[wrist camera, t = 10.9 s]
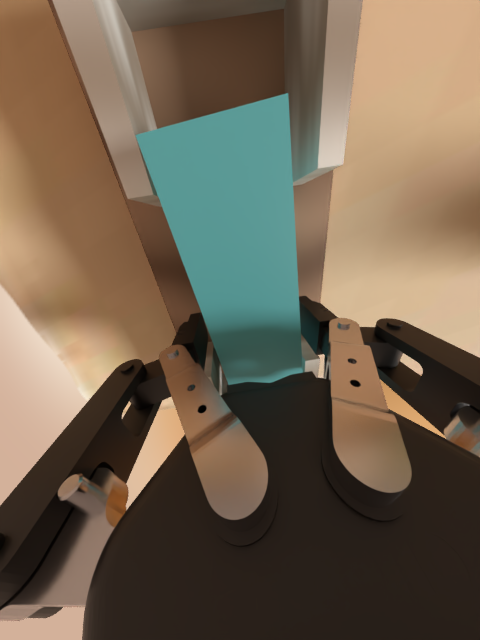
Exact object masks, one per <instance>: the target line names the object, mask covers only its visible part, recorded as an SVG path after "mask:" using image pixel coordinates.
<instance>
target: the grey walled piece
mask: <svg viewBox="0 0 480 640" xmlns="http://www.w3.org/2000/svg"><path fill="white" fill-rule="evenodd" d="M48 2H49V4H50V7H51V10H52V12H53V15H54V17H55V20H56V23H57V25H58V28H59V30H60V33H61V36H62V38H63V41H64V43H65V46H66V48H67V51H68V54H69V56H70V59H71V61H72V64H73V67H74V69H75V72H76V74H77V77H78V79H79V82H80V85H81V87H82V90H83V92H84V95H85V98H86V100H87V103H88V105H89V108H90V111H91V113H92V116H93V118H94V121H95V123H96V126H97V129H98V131H99V134H100V136H101V139H102V142H103V144H104V147H105V149H106V152H107V154H108V157H109V160H110V162H111V165H112V167H113V170H114V173H115V175H116V178H117V180H118V183H119V186H120V188H121V191H122V193H123V196H124V198H125V201H126V204H127V206H128V209H129V211H130V214H131V217H132V219H133V222H134V224H135V227H136V230H137V232H138V235H139V237H140V240H141V242H142V245H143V248H144V250H145V253H146V255H147V258H148V261H149V263H150V266H151V268H152V271H153V273H154V276H155V279H156V281H157V284H158V286H159V289H160V292H161V294H162V297H163V299H164V302H165V305H166V307H167V310H168V312H169V315H170V317H171V320H172V323H173V325H174V328H175V330H176V333H177V332H178V329H179V327H180V326H181V325H182V324H183V323H184V322H187V321H188V320H189V317H190V314H194V313H200V312H201V310H200V307H199V304H198V302H197V299H196V296H195V294H194V291H193V288H192V286H191V283H190V280H189V278H188V275H187V272H186V270H185V267H184V264H183V262H182V259H181V256H180V253H179V251H178V248H177V245H176V243H175V240H174V237H173V235H172V232H171V229H170V227H169V224H168V221H167V219H166V216H165V213H164V211H163V208H162V205H161V203H160V200H159V197H158V195H157V192H156V189H155V187H154V184H153V181H152V179H151V176H150V173H149V170H148V168H147V165H146V162H145V160H144V157H143V154H142V152H141V149H140V146H139V144H138V141H137V138H136V136H135V135H137V134H141V133H144V132H148V131H152V130H155V129H159V128H163V127H166V126H170V125H174V124H177V123H181V122H184V121H188V120H192V119H195V118H199V117H203V116H206V115H210V114H214V113H217V112H221V111H224V110H228V109H232V108H235V107H239V106H243V105H246V104H250V103H254V102H257V101H261V100H265V99H268V98H272V97H275V96H279V95H283V94H286V93H288V98H289V117H290V136H291V155H292V175H293V194H294V213H295V232H296V251H297V270H298V289H299V296H307V297H308V298H309V299H310V300H311V301H316V302H318V303H320V299H321V289H322V279H323V269H324V259H325V249H326V239H327V229H328V218H329V208H330V198H331V188H332V178H333V169H335V168H337V167H339V166H341V165H343V162H344V153H345V145H346V136H347V128H348V120H349V111H350V103H351V94H352V86H353V78H354V69H355V61H356V52H357V44H358V36H359V27H360V19H361V10H362V2H363V0H48ZM201 313H202V312H201ZM204 321H205V320H204ZM205 325H206V323H205ZM206 328H207V326H206ZM207 332H208V345H207V353H206V361H205V369H204V372H205V374H206V375H207V376H208V378H209V379H210V381H211V382H212V384H213V385H214V387H215V388H216V390H217V391H218V393H219V394H220V395H222V394H224V393H226V392H227V385H228V382H227V379H226V377H225V374H224V371H223V369H222V366H221V363H220V361H219V358H218V355H217V353H216V350H215V347H214V345H213V342H212V339H211V336H210V334H209V331H208V328H207ZM301 347H302V366H303V372H309V371H312V372H313V373H314V375H315V377H316V378H318V372H319V363H320V358H319V356H318V355H316V354H315V353H314V351H313V350H312V348H311V347H310V346H309V344H308V343H307V341H306V340H305V338H304V337H303V336H302V334H301Z"/></svg>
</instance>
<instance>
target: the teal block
mask: <svg viewBox="0 0 480 640" xmlns="http://www.w3.org/2000/svg"><path fill="white" fill-rule="evenodd" d="M135 136H136V138H137V141H138V144H139V146H140V149H141V152H142V154H143V157H144V160H145V162H146V165H147V168H148V170H149V173H150V176H151V179H152V181H153V184H154V187H155V189H156V192H157V195H158V197H159V200H160V203H161V205H162V208H163V211H164V213H165V216H166V219H167V221H168V224H169V227H170V229H171V232H172V235H173V237H174V240H175V243H176V245H177V248H178V251H179V253H180V256H181V259H182V262H183V264H184V267H185V270H186V272H187V275H188V278H189V280H190V283H191V286H192V288H193V291H194V294H195V296H196V299H197V302H198V304H199V307H200V310H201V312H202V315H203V318H204V320H205V323H206V326H207V328H208V331H209V334H210V336H211V339H212V342H213V345H214V347H215V350H216V353H217V355H218V358H219V361H220V363H221V366H222V369H223V371H224V374H225V377H226V379H227V382H228V385H231V384H237V383H243V382H264V383H271V382H274V381H277V380H279V379H282V378H284V377H286V376H289V375H291V374H297V373H303V366H302V347H301V328H300V308H299V289H298V270H297V251H296V232H295V213H294V194H293V175H292V155H291V136H290V117H289V98H288V93H286V94H283V95H279V96H275V97H272V98H268V99H265V100H261V101H257V102H254V103H250V104H246V105H243V106H239V107H235V108H232V109H228V110H224V111H221V112H217V113H214V114H210V115H206V116H203V117H199V118H195V119H192V120H188V121H184V122H181V123H177V124H174V125H170V126H166V127H163V128H159V129H155V130H152V131H148V132H144V133H141V134H137V135H135Z"/></svg>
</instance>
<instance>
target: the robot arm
mask: <svg viewBox="0 0 480 640" xmlns="http://www.w3.org/2000/svg"><path fill="white" fill-rule="evenodd" d="M299 308H300V328H301V334H302V336H303V337H304V338H305V340H306V341H307V343H308V344H309V346H310V347H311V348H312V350H313V351H314V353H315V354H316V355H320V354H324V355H325V359H324V378H316V377H315V375H314V373H313V372H312V371H309V372H303V373H297V374H291V375H289V376H286V377H284V378H282V379H279V380H277V381H274V382H271V383H264V382H243V383H237V384H231V385H227V392H226V393H224V394H222V395H220V394H219V393H218V391H217V390H216V388H215V387H214V385H213V384H212V382H211V381H210V379H209V378H208V376H207V375H206V374H205V372H204V369H205V361H206V353H207V345H208V332H207V328H206V325H205V321H204V318H203V315H202V313H201V312H200V313H194V314H190V317H189V320H188V321H187V322H184V323H183V324H182V325H181V326H180V327H179V329H178V332H177V334H176V336H175V339H174V341H173V344H172V346H170V347H168V348H166V349H165V350H163V351H162V352H161V353H160V355H159V359H158V360H156V361H154V362H151V363H148V364H146V365H144V364H143V362H142V361H141V360H139V359H134V360H130V361H127V362H125V363H123V364H121V365H120V366H118V367H117V368H116V369H115V370H114V371H113V373H112V374H111V375H110V376H109V377H108V378H107V380H106V381H105V382H104V383H103V384H102V386H101V387H100V388H99V389H98V390H97V392H96V393H95V394H94V395H93V396H92V397H91V399H90V400H89V401H88V402H87V403H86V405H85V406H84V407H83V408H82V409H81V411H80V412H79V413H78V414H77V415H76V417H75V418H74V419H73V420H72V421H71V423H70V424H69V425H68V426H67V427H66V428H65V430H64V431H63V432H62V433H61V434H60V436H59V437H58V438H57V439H56V440H55V442H54V443H53V444H52V445H51V446H50V448H49V449H48V450H47V451H46V452H45V453H44V455H43V456H42V457H41V458H40V459H39V461H38V462H37V463H36V464H35V465H34V466H33V468H32V469H31V470H30V471H29V472H28V474H27V475H26V476H25V477H24V478H23V480H22V481H21V482H20V483H19V484H18V486H17V487H16V488H15V489H14V490H13V491H12V493H11V494H10V495H9V497H7V499H6V500H5V501H4V502H3V503H2V505H1V506H0V621H19V620H23V619H25V618H47V617H50V616H52V615H54V614H56V613H57V612H58V611H59V610H61V609H62V608H63V607H85V612H84V622H83V636H82V640H480V358H479V357H477V356H475V355H473V354H470V353H468V352H466V351H464V350H462V349H460V348H458V347H456V346H454V345H452V344H450V343H448V342H446V341H443V340H441V339H439V338H437V337H435V336H433V335H431V334H429V333H427V332H425V331H423V330H421V329H419V328H416V327H414V326H412V325H410V324H408V323H406V322H404V321H401V320H397V319H389V318H386V319H380V320H378V321H377V323H376V326H375V327H359V324H358V323H357V322H355V321H353V320H350V319H346V318H338V317H337V316H335V315H334V314H333V313H332V312H330V311H328V309H327V308H325V307H324V306H323V305H322V304H321V303H318V302H316V301H311V300H310V299H309V298H308V297H307V296H299ZM403 353H404V354H406V355H407V356H409V357H411V358H412V359H414V360H415V361H417V362H418V363H419V364H420V365H421V366H422V368H423V374H422V376H420V375H419V374H417V373H416V372H414V371H413V370H412V369H410V368H409V367H407V366H406V365H404V364H403V363H401V362H400V359H401V356H402V354H403ZM380 379H381V380H382V381H383V382H384V383H385V384H386V385H388V386H389V387H390V388H391V389H392V390H393V391H394V392H395V393H397V394H398V395H399V396H400V397H401V398H402V399H404V400H405V401H406V402H407V403H408V404H409V405H411V407H413V408H414V409H415V410H416V411H417V412H418V413H419V414H421V415H422V416H423V417H424V418H425V419H426V420H428V421H429V422H430V423H431V424H432V425H433V426H435V428H437V429H438V430H439V431H440V432H441V433H442V434H443V435H445V437H446V439H445V438H443V437H441V436H439V435H437V434H435V433H433V432H432V431H430V430H428V429H426V428H424V427H422V426H420V425H418V424H416V423H414V422H412V421H411V420H409V419H407V418H405V417H403V416H401V415H399V414H397V413H395V412H393V411H392V410H390V409H388V407H387V404H386V400H385V396H384V393H383V389H382V386H381V383H380ZM171 396H172V399H173V402H174V405H175V407H176V410H177V412H178V416H179V418H180V421H181V424H182V426H183V430H184V432H185V435H184V437H183V438H182V439H181V440H180V442H179V443H178V444H177V446H176V447H175V448H174V449H173V451H172V452H171V453H170V455H169V456H168V457H167V459H166V460H165V461H164V463H163V464H162V465H161V466H160V468H159V469H158V471H157V472H156V473H155V474H154V476H153V477H152V478H151V479H150V481H149V482H148V483H147V485H146V486H145V487H144V489H143V490H142V491H141V493H140V494H139V495H138V497H137V498H136V499H135V500H134V502H133V503H132V504H131V506H130V507H129V508H128V509H127V511H126V503H127V500H128V487H127V485H126V483H127V480H128V478H129V476H130V473H131V471H132V468H133V466H134V464H135V462H136V460H137V457H138V455H139V453H140V450H141V448H142V446H143V443H144V441H145V439H146V436H147V434H148V432H149V430H150V427H151V425H152V423H153V420H154V418H155V416H156V414H157V411H158V409H159V407H160V404H161V402H162V400H164V399H166V398H169V397H171ZM129 401H130V402H131V405H130V407H129V409H128V410H127V412H126V414H125V415H124V417H123V419H122V412H123V410H124V408H125V407H126V405H127V404H128V402H129Z"/></svg>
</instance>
